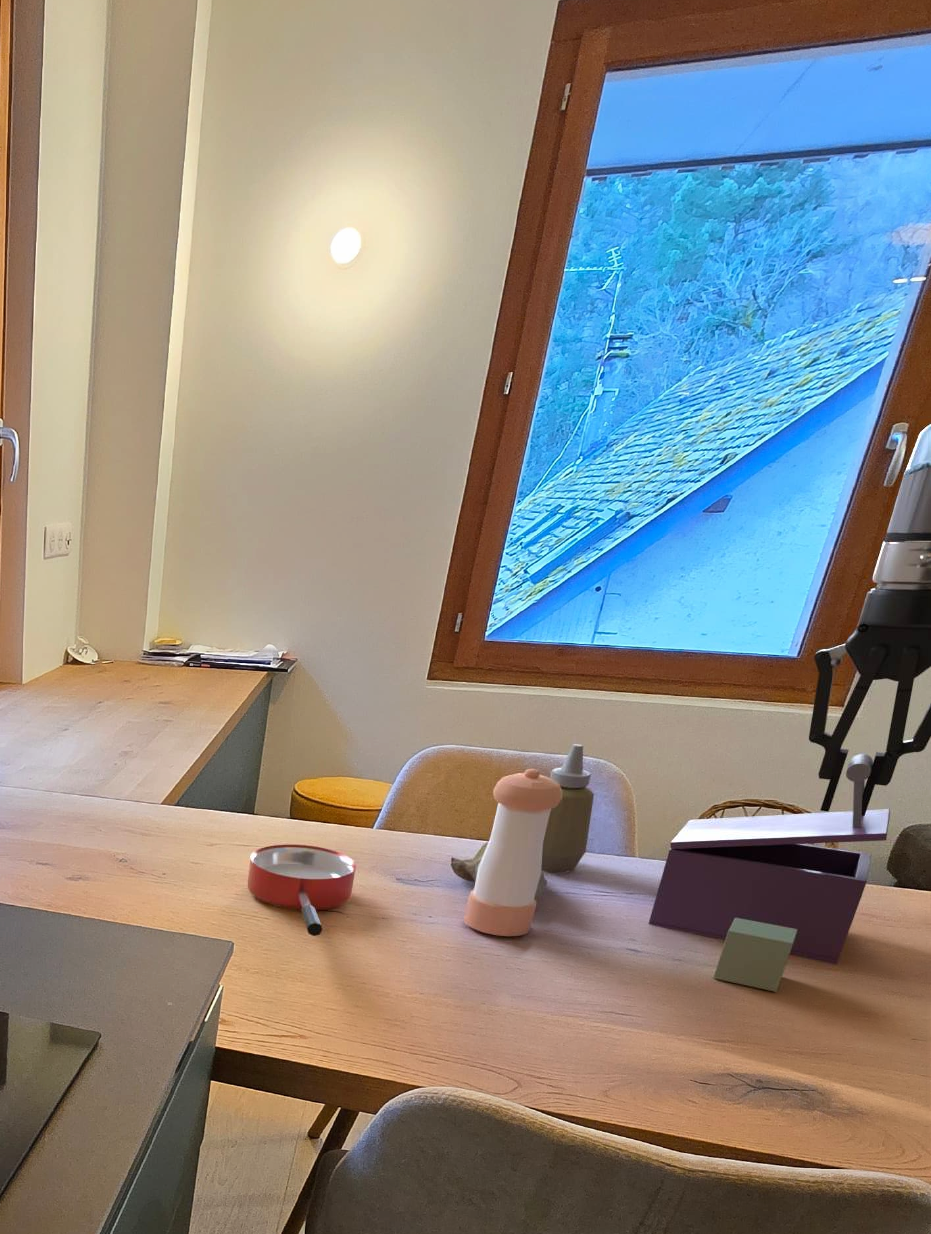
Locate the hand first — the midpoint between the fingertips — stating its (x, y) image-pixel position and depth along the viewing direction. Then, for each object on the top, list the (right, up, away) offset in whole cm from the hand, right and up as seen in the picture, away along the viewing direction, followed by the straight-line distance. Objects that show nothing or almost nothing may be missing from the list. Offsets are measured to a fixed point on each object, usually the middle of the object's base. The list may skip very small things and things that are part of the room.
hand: (842, 810), depth 117 cm
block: (-14, -19, -4) cm, 23 cm away
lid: (-4, -2, +4) cm, 6 cm away
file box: (-4, -13, +9) cm, 17 cm away
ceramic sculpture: (-28, -8, +21) cm, 35 cm away
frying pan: (-55, -12, +13) cm, 58 cm away
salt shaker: (-33, -12, +11) cm, 37 cm away
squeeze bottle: (-16, -4, +31) cm, 35 cm away
